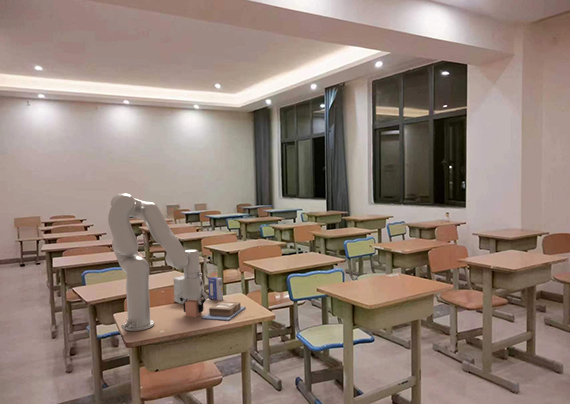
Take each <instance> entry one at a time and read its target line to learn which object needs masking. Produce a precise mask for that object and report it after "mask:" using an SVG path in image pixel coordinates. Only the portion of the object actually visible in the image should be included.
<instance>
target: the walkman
mask: <svg viewBox="0 0 570 404" xmlns="http://www.w3.org/2000/svg"><path fill="white" fill-rule="evenodd" d="M207 278H208V281H207V282H208V283H207V285H208V296H209V297H208V299H209V300H211V299H210V298H213V299H212V300H214V299H215V300H214V301H222V300H224V292H223V291H224V290H223V287H224V286H223V278H222V277H216V276H215V277H214V276H210V277H207Z"/></svg>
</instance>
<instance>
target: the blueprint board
mask: <svg viewBox="0 0 570 404" xmlns="http://www.w3.org/2000/svg"><path fill="white" fill-rule="evenodd" d="M240 307H241V308H240V309H239V310H238V311H236V312H235V313H234V314H232V315H231V316H224V315H209V313H207V314H205V315H204V316H202V317H201V319H202V320H210V321H211V320H212V321H224V322H225V321H226V322H230V321H231V320H232V319H233V318H235V317H236V316H238V314H240V313H241V312H243V311H244V310H245V309H246V306H240Z"/></svg>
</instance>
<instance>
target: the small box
mask: <svg viewBox="0 0 570 404" xmlns="http://www.w3.org/2000/svg"><path fill="white" fill-rule="evenodd" d="M183 278H184V275H181V276H178V277H173V300H174V302H176V303H177V304H180V305H183V303H182V301H181V300H180V298H179V297H178V296H177V295H178V294H179V293H180V292H181V291H182V282H183ZM188 300H190V299H188Z"/></svg>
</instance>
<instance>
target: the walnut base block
mask: <svg viewBox="0 0 570 404" xmlns="http://www.w3.org/2000/svg"><path fill="white" fill-rule="evenodd" d="M241 307H242V306H241V302H237V301H222V300H219V302H217V303H216V304H214V305H212V306H210V307H209V309H208V312H209V315H224V316H231V315H232V314H234V313H235V312H236V311H238V310H239V309H240V308H241Z"/></svg>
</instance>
